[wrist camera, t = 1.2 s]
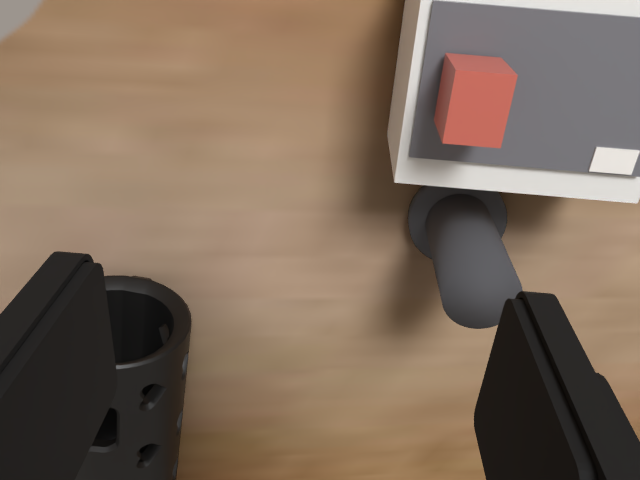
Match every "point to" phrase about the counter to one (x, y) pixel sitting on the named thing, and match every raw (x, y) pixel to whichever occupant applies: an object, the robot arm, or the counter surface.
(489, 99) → the slider
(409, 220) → the gray post with base
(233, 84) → the counter surface
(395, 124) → the switch box
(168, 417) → the muzzle brake
